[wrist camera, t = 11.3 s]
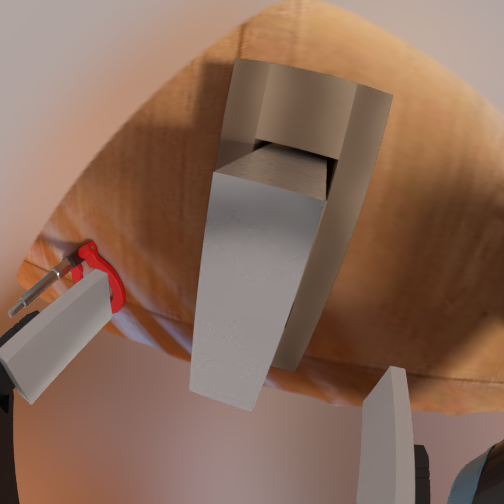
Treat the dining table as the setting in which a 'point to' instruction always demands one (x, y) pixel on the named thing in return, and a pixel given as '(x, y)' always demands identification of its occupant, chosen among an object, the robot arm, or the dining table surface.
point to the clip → (252, 267)
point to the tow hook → (75, 277)
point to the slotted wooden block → (317, 141)
